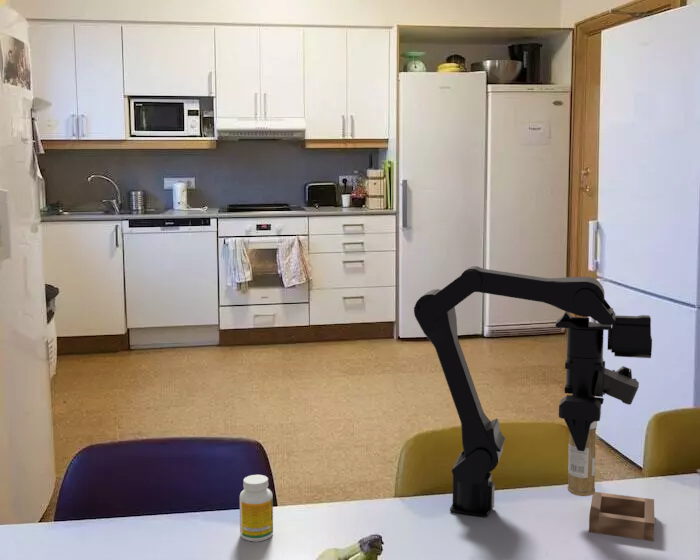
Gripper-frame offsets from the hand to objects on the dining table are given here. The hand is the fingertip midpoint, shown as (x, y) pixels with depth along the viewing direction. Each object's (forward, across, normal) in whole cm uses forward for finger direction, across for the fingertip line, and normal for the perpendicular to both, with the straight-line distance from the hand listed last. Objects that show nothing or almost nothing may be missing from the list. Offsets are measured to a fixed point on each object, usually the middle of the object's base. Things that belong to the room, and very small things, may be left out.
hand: (582, 446), depth 136 cm
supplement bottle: (+13, -23, +49) cm, 56 cm away
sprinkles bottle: (+8, 0, 0) cm, 8 cm away
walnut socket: (+13, +1, -7) cm, 15 cm away
